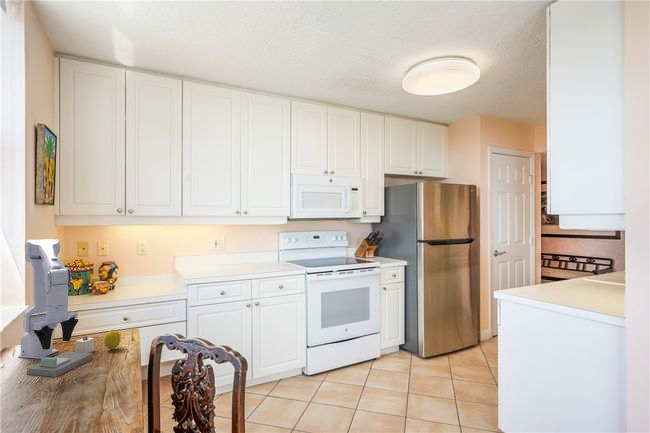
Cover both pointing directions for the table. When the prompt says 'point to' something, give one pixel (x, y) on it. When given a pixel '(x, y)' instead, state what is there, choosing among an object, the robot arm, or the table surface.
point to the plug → (85, 345)
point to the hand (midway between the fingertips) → (56, 344)
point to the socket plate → (75, 361)
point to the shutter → (53, 361)
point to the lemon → (112, 339)
